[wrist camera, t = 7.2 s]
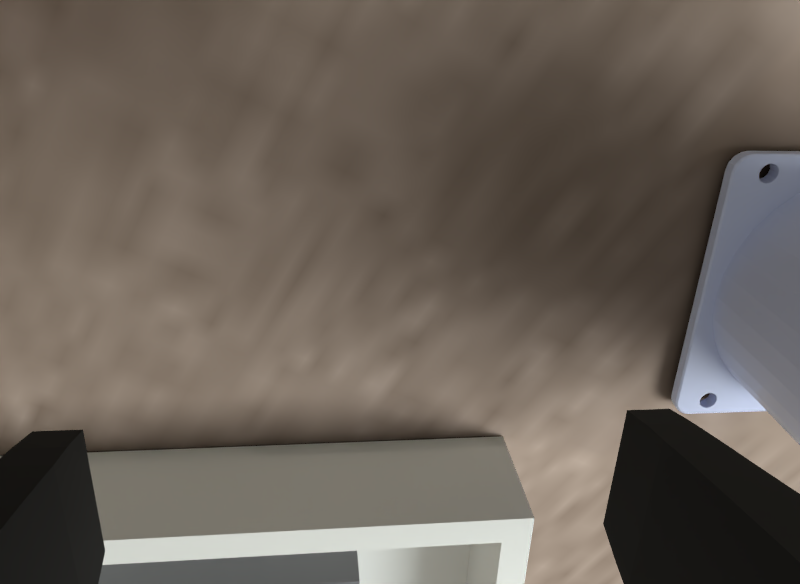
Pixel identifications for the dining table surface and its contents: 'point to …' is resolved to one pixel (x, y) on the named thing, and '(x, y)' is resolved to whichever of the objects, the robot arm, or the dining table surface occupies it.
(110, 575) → the inlet socket
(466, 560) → the walled box
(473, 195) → the dining table surface
